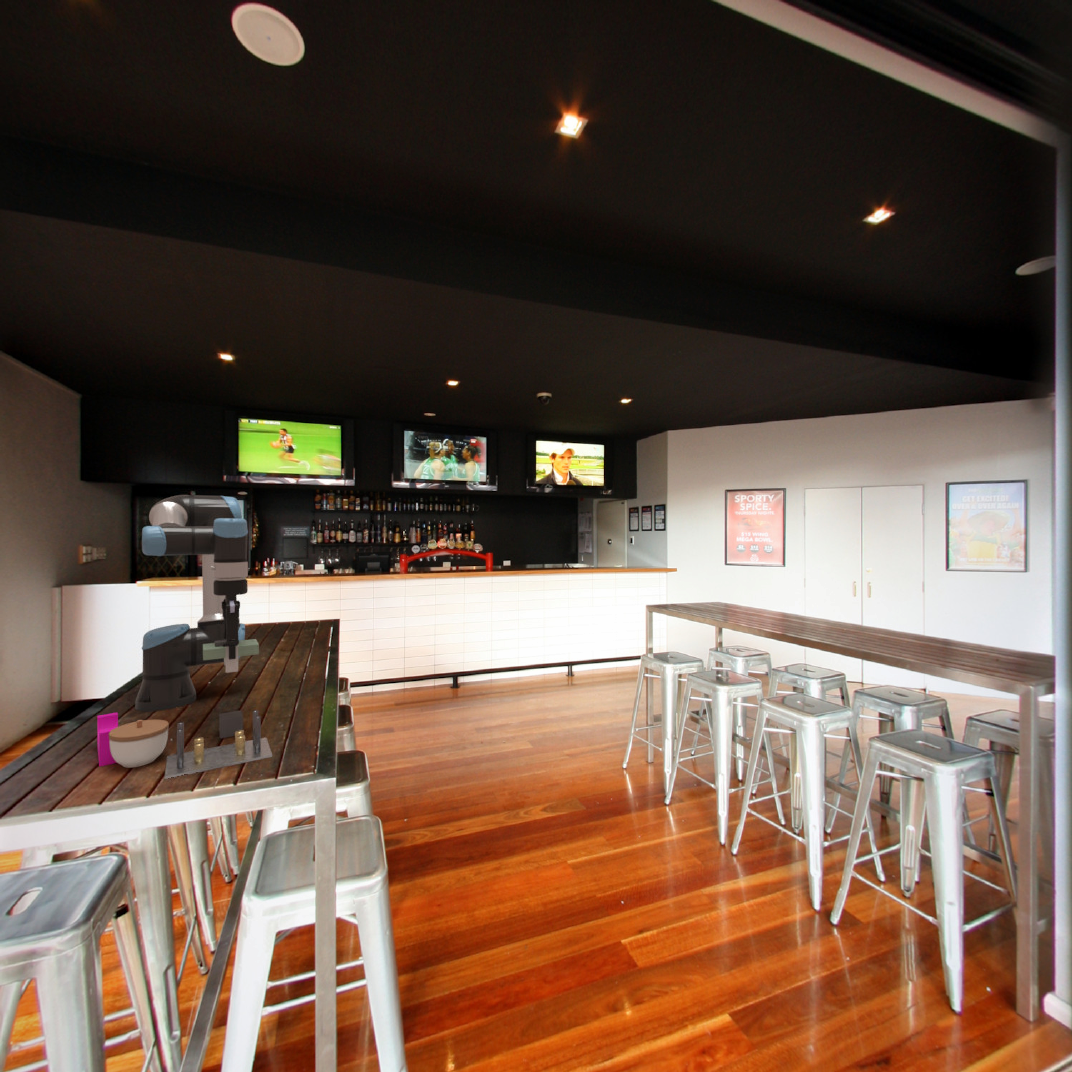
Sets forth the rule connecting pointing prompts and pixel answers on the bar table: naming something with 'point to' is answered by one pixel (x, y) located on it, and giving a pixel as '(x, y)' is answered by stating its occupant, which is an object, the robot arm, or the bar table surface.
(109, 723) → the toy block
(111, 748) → the lidded jar
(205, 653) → the board
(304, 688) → the bar table surface
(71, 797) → the bar table surface
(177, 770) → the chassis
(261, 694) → the bar table surface
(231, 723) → the dark grey cube
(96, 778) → the bar table surface
